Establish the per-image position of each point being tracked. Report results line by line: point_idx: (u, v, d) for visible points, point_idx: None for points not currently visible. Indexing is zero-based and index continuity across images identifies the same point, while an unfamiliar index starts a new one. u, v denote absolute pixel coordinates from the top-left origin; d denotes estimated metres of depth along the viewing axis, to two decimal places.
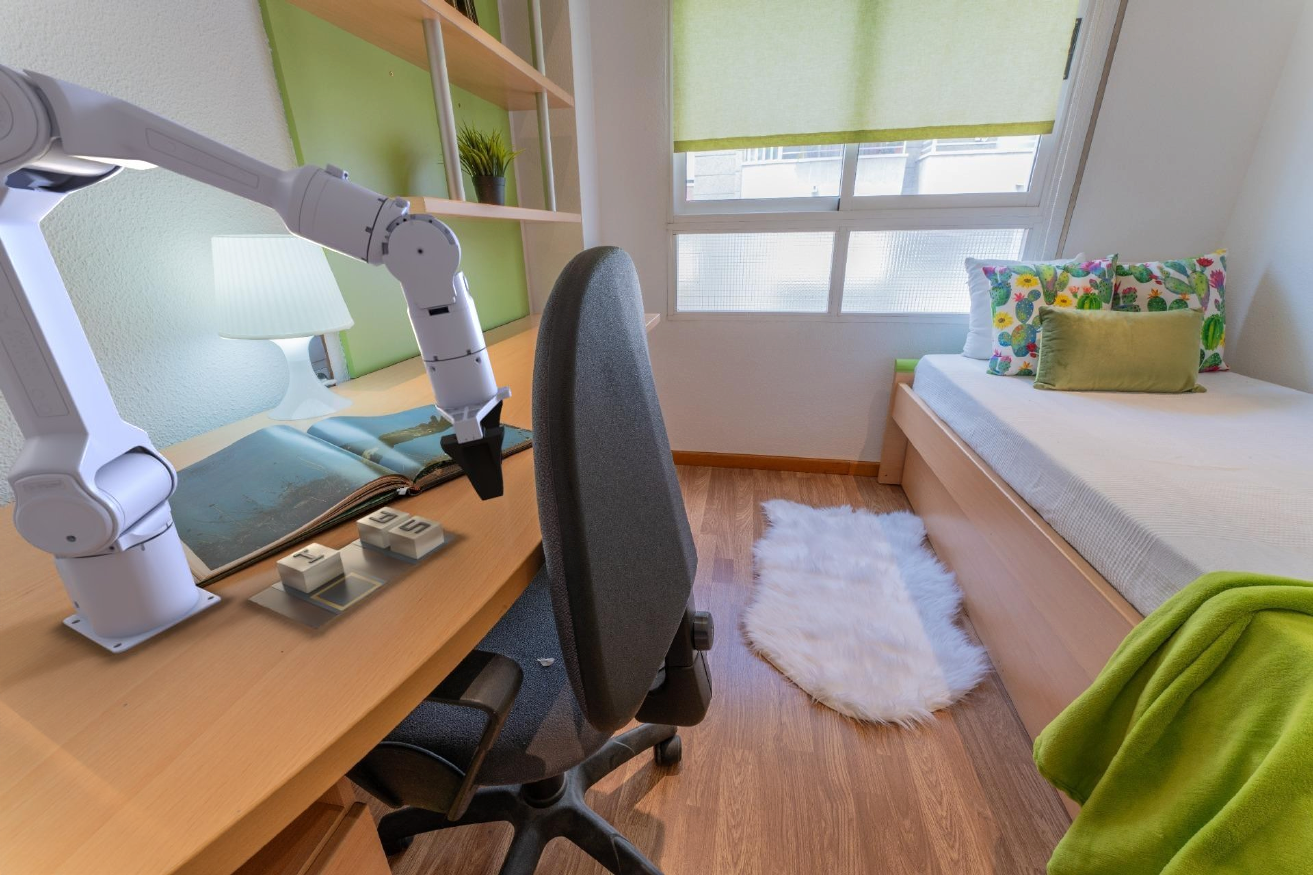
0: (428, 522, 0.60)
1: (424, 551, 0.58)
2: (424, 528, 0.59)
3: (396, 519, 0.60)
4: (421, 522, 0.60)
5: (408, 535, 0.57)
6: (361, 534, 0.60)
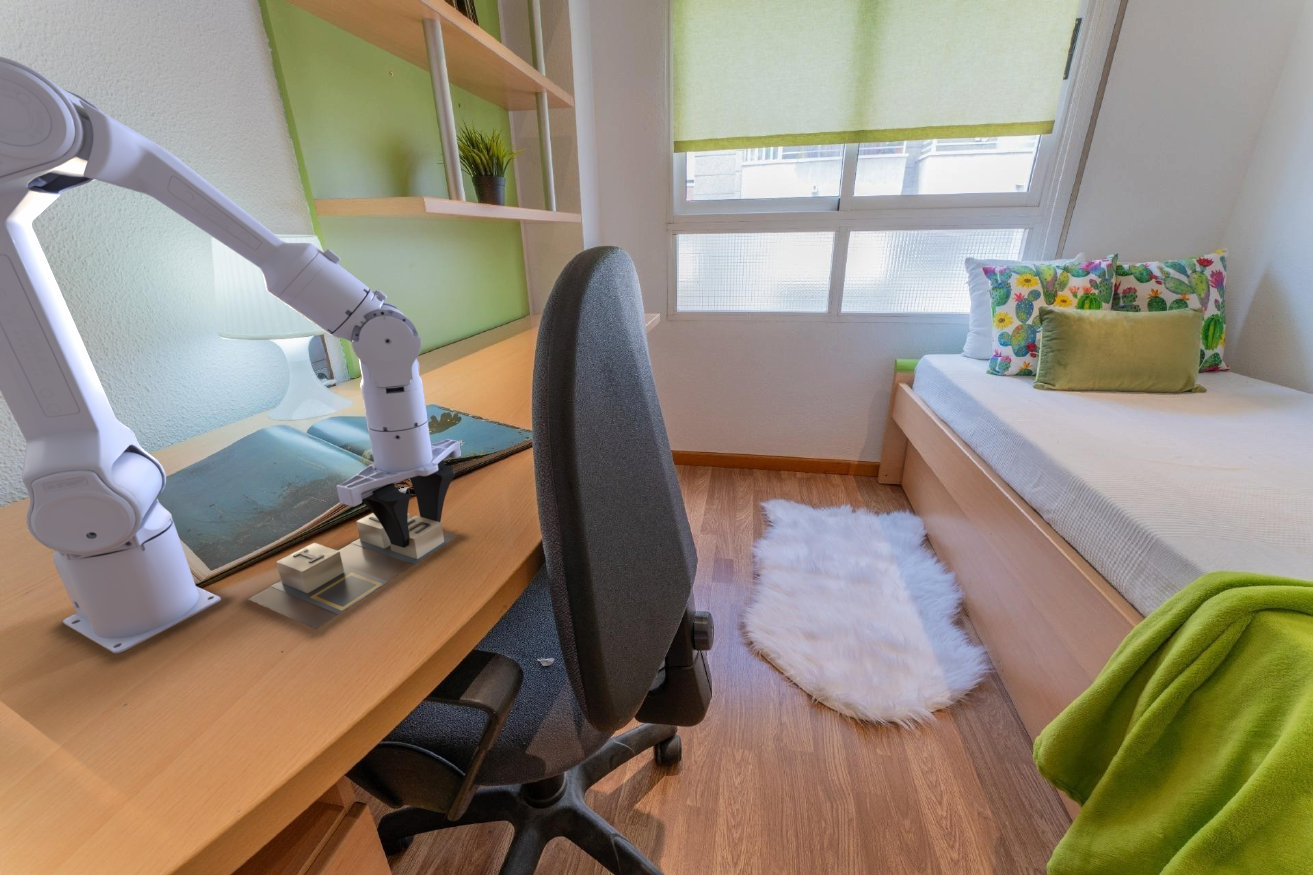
0: (428, 522, 0.60)
1: (424, 551, 0.58)
2: (424, 528, 0.59)
3: None
4: (421, 522, 0.60)
5: None
6: (361, 534, 0.60)
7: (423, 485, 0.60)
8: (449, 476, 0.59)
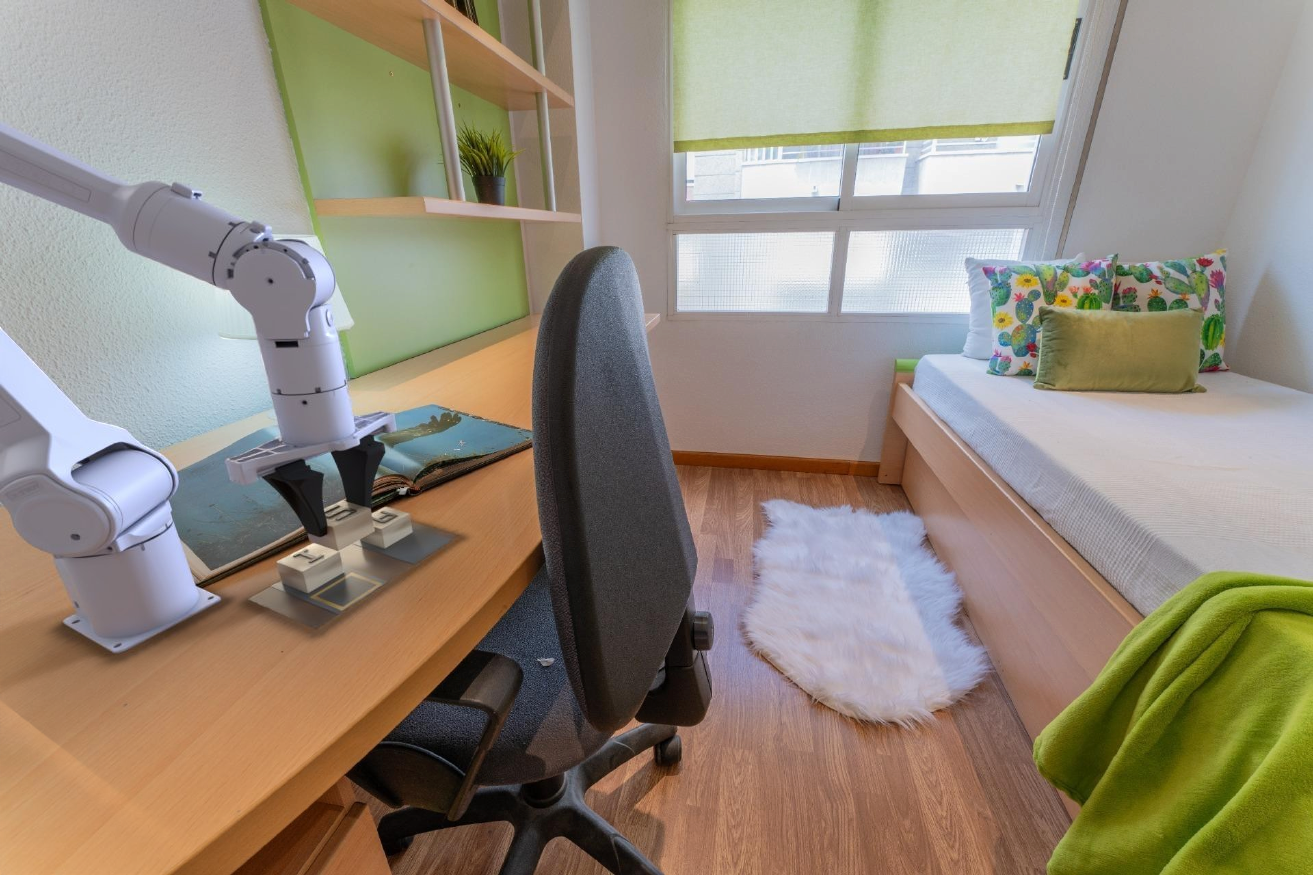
0: (355, 508, 0.51)
1: (347, 542, 0.49)
2: (348, 514, 0.49)
3: (396, 519, 0.60)
4: (346, 508, 0.51)
5: (327, 522, 0.48)
6: None
7: (348, 464, 0.50)
8: (378, 453, 0.50)
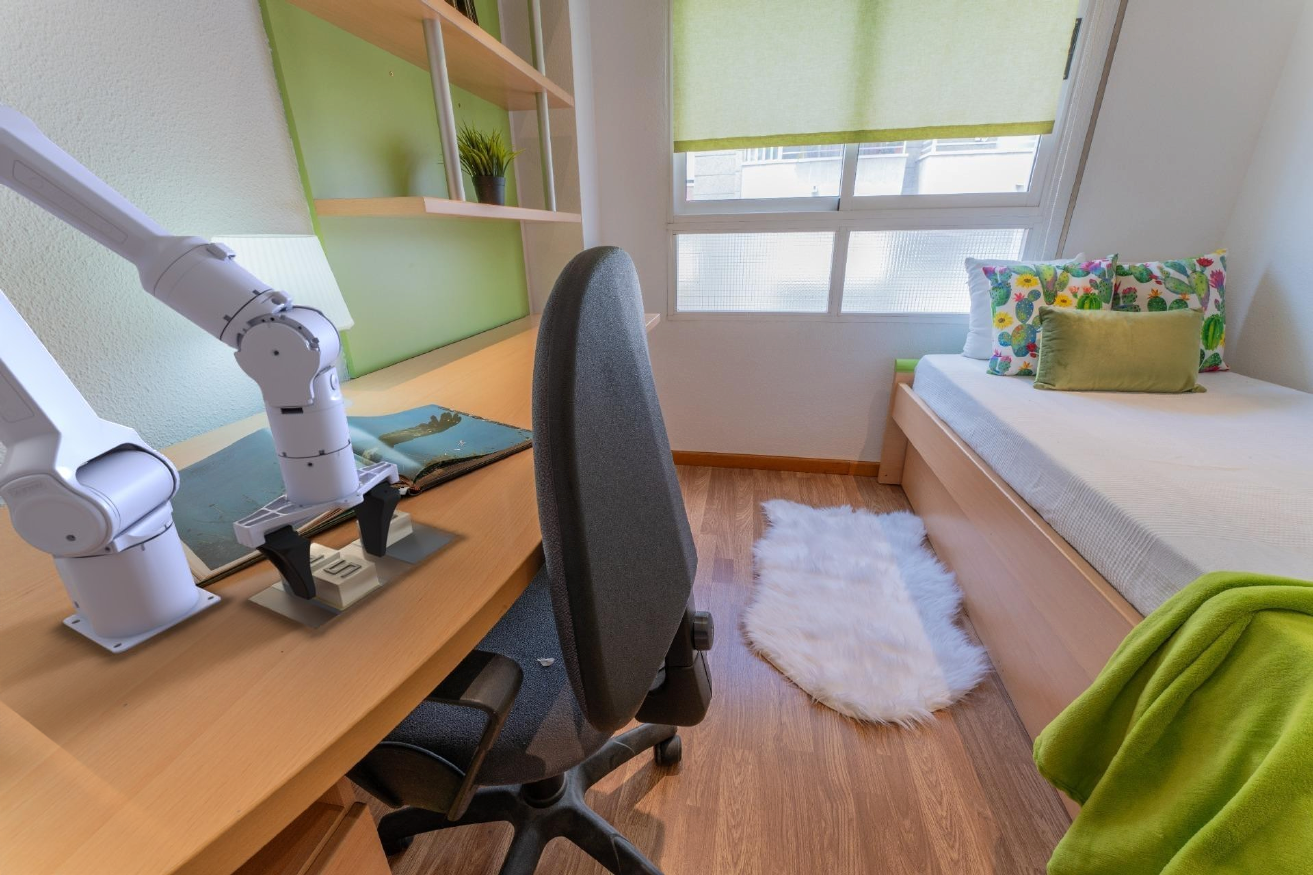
0: (359, 562, 0.52)
1: (352, 597, 0.51)
2: (353, 570, 0.51)
3: (396, 519, 0.60)
4: (351, 562, 0.52)
5: (332, 579, 0.50)
6: None
7: (365, 509, 0.53)
8: (394, 499, 0.53)
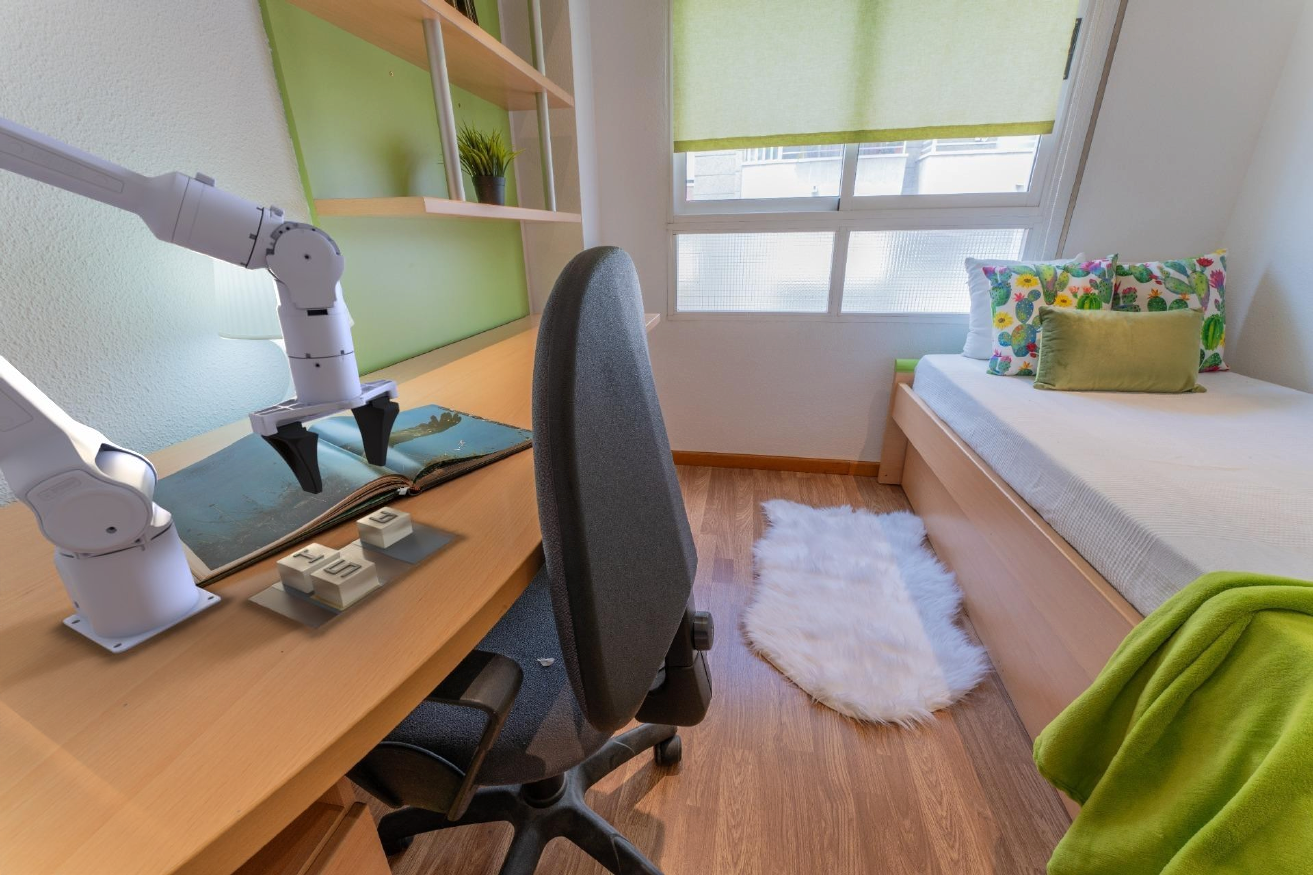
0: (359, 562, 0.52)
1: (352, 597, 0.51)
2: (353, 570, 0.51)
3: (396, 519, 0.60)
4: (351, 562, 0.52)
5: (332, 579, 0.50)
6: (361, 534, 0.60)
7: (367, 421, 0.58)
8: (393, 411, 0.57)
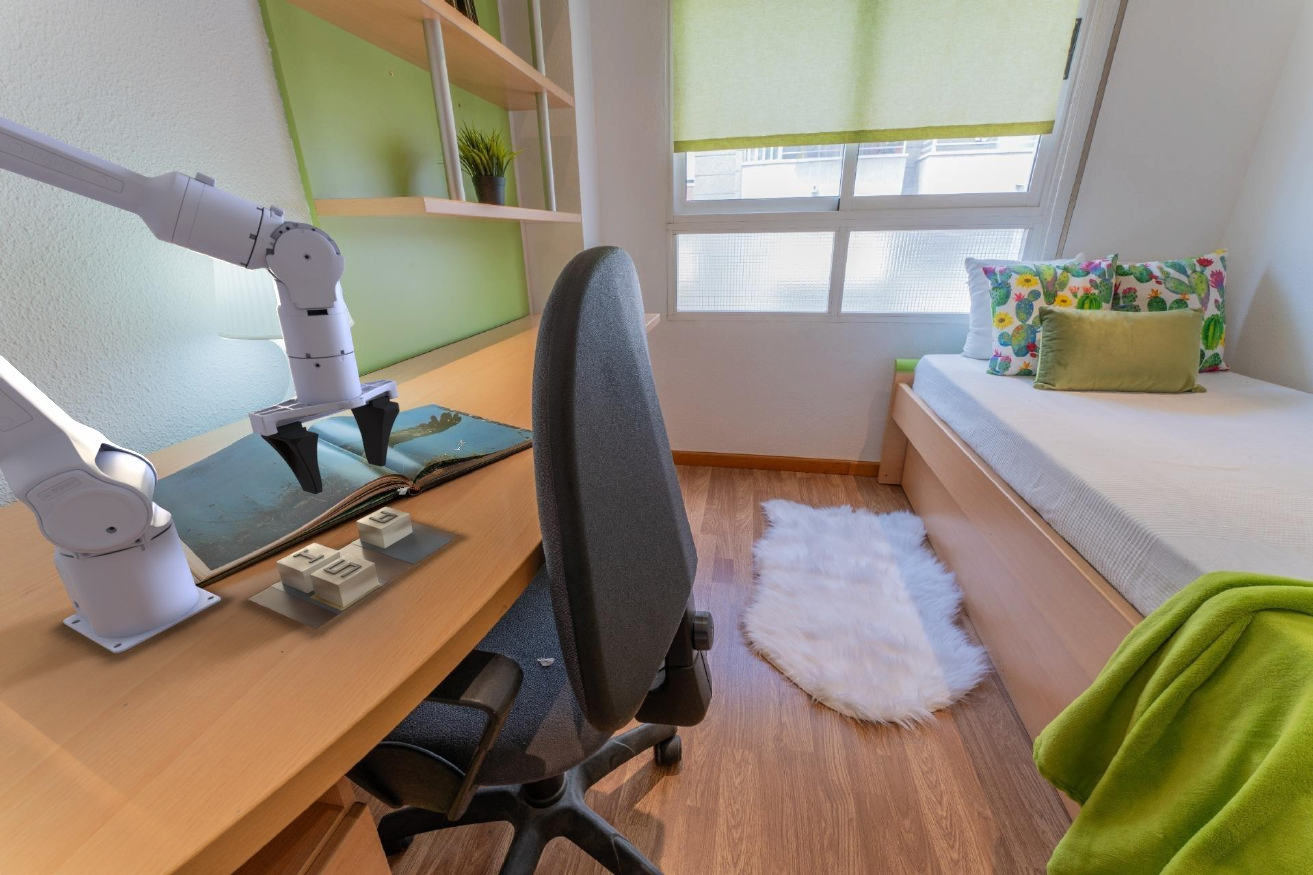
0: (359, 562, 0.52)
1: (352, 597, 0.51)
2: (353, 570, 0.51)
3: (396, 519, 0.60)
4: (351, 562, 0.52)
5: (332, 579, 0.50)
6: (361, 534, 0.60)
7: (367, 421, 0.58)
8: (393, 411, 0.57)
